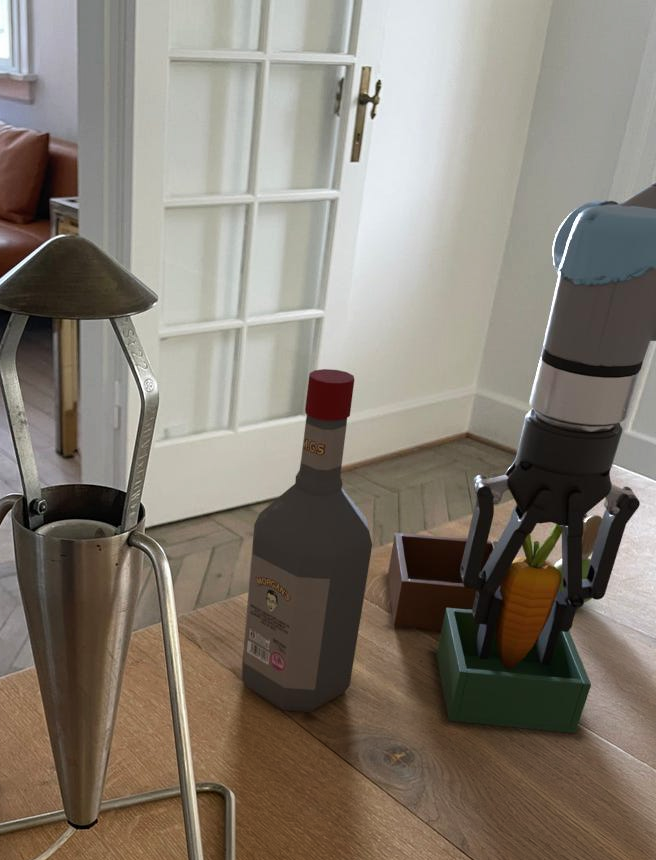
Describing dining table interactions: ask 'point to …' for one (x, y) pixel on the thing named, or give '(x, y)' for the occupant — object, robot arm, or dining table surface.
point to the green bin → (509, 681)
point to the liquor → (309, 567)
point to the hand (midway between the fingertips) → (512, 653)
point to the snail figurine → (585, 544)
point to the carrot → (527, 599)
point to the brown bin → (428, 579)
